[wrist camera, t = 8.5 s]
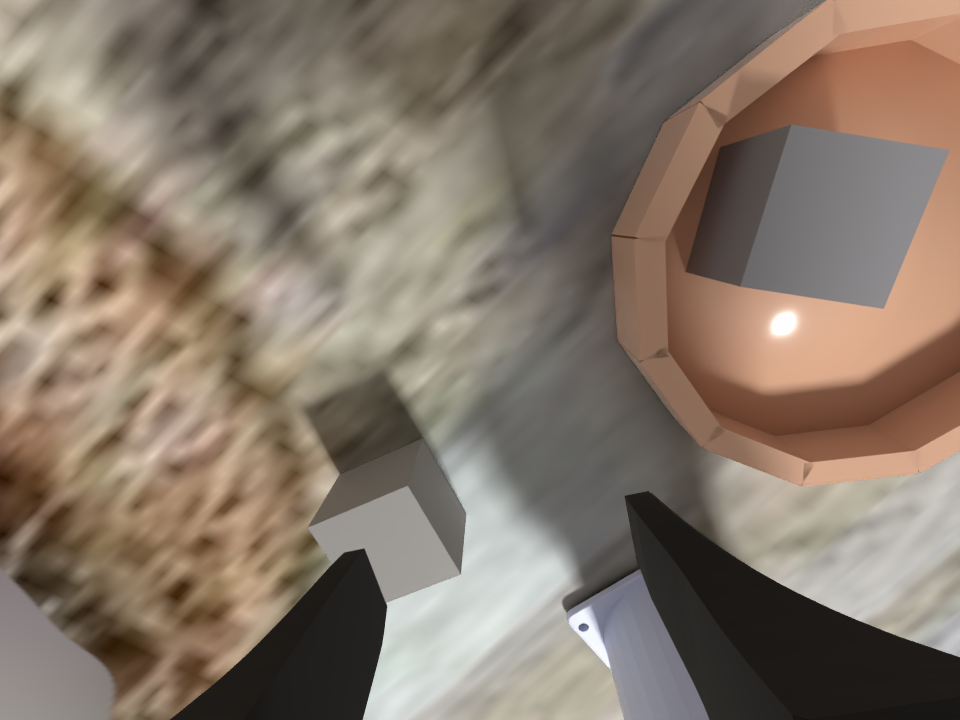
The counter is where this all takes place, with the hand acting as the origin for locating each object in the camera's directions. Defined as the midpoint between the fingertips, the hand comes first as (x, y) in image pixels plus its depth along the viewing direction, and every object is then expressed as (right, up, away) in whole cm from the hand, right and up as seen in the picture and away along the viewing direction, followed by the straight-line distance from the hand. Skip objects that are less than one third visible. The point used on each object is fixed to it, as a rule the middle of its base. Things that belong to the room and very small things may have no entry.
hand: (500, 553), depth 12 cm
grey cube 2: (-4, -1, +9) cm, 10 cm away
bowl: (+13, +9, +6) cm, 17 cm away
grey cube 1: (+10, +10, +5) cm, 15 cm away
